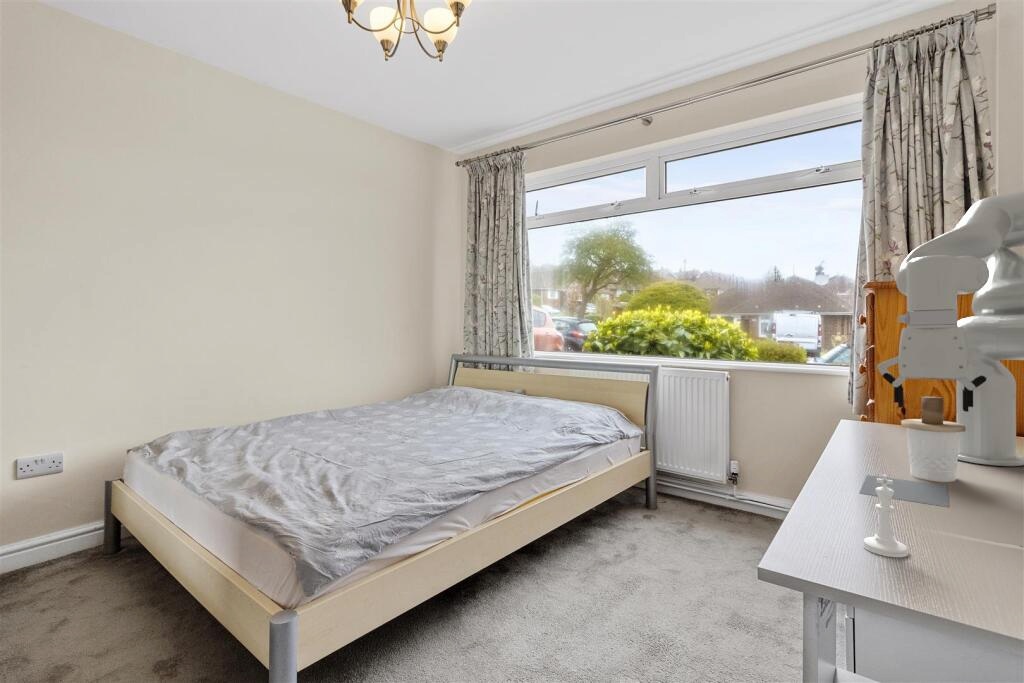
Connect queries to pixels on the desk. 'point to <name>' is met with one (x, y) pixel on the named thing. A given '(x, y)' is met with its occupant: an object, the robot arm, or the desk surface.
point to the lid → (933, 418)
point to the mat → (909, 491)
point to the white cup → (933, 454)
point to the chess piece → (885, 526)
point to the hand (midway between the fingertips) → (932, 408)
